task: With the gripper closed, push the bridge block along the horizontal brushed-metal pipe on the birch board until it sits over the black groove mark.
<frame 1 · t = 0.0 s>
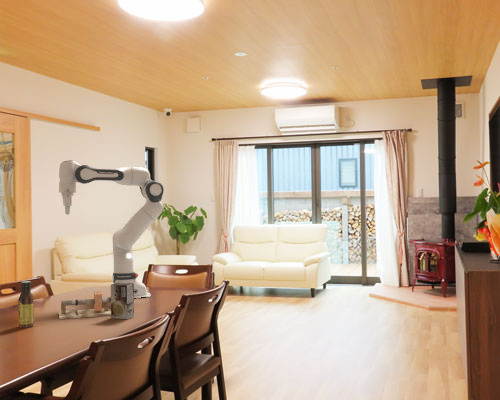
hand: (67, 214, 297), 48 cm above the table, fingers open, 8 cm apart
bridge block: (97, 301, 262), point 6 cm above the table, slide at 0.0 cm
pipe stand: (85, 314, 260), on the table
coffee box: (122, 318, 252), on the table
sauce bottle: (26, 327, 234), on the table
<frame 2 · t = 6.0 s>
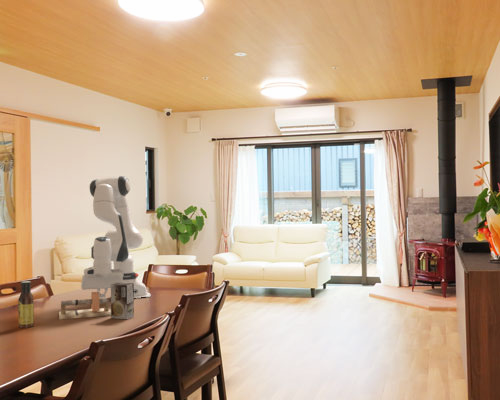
hand: (102, 297, 265), 7 cm above the table, fingers closed
bridge block: (95, 301, 262), point 6 cm above the table, slide at 1.2 cm, touching gripper
everything else where it was.
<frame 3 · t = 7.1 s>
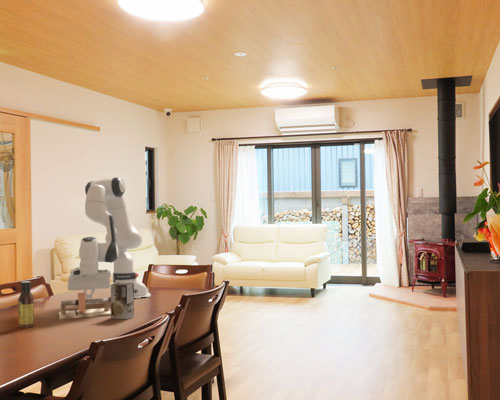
hand: (88, 298, 263), 7 cm above the table, fingers closed
bridge block: (81, 302, 259), point 6 cm above the table, slide at 7.6 cm, touching gripper
everything else where it was.
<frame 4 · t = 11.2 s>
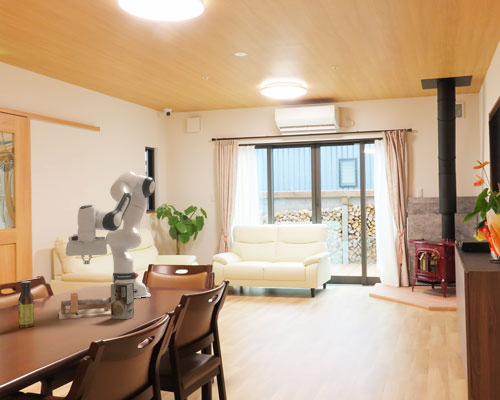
hand: (86, 264, 272), 23 cm above the table, fingers closed
bridge block: (74, 302, 258), point 6 cm above the table, slide at 11.1 cm
everything else where it was.
at the end: bridge block slide at 11.1 cm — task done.
